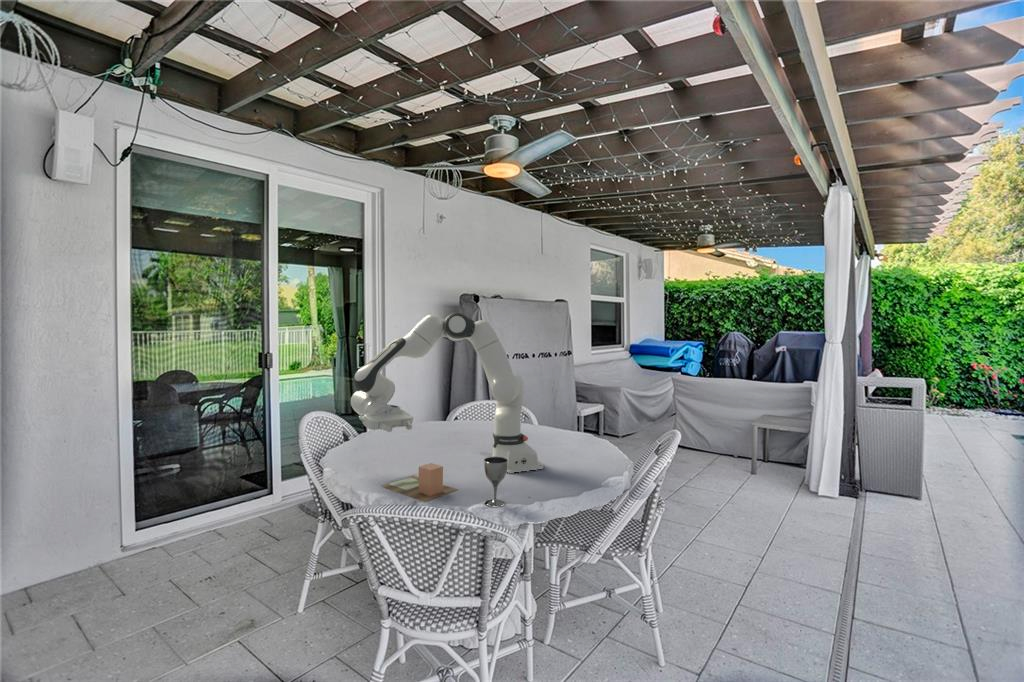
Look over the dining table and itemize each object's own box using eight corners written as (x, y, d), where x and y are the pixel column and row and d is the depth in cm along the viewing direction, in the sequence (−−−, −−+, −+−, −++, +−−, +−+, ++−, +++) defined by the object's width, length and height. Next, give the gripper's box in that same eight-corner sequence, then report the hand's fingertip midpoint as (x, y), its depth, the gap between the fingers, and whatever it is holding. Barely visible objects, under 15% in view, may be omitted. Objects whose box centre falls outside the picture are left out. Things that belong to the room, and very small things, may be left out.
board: (458, 492, 185) (458, 489, 185) (425, 504, 172) (425, 501, 172) (413, 478, 199) (413, 475, 199) (380, 488, 187) (380, 485, 187)
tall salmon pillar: (431, 487, 186) (431, 463, 186) (442, 491, 183) (443, 466, 182) (418, 491, 182) (418, 466, 181) (430, 495, 178) (430, 470, 177)
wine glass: (507, 507, 171) (508, 463, 170) (483, 508, 170) (484, 463, 170) (506, 499, 179) (506, 456, 178) (483, 499, 178) (483, 456, 178)
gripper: (358, 408, 192) (379, 423, 184) (401, 405, 208) (423, 419, 200) (354, 424, 193) (375, 439, 185) (398, 420, 209) (419, 434, 201)
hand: (400, 428), depth 193 cm, fingers open, 8 cm apart
